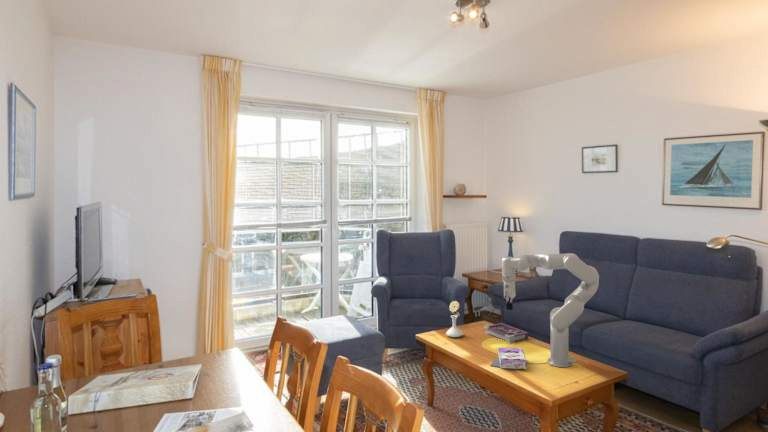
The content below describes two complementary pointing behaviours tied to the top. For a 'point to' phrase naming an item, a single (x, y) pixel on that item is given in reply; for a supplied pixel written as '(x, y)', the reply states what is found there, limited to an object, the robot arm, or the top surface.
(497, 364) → the mat
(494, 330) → the book
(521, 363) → the candy box
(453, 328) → the flower in vase
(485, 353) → the top surface
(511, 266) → the robot arm
